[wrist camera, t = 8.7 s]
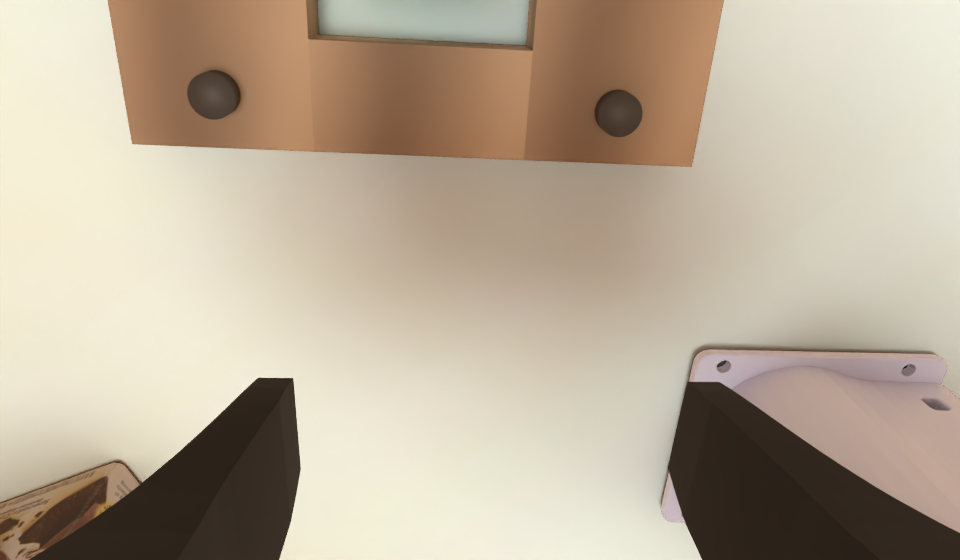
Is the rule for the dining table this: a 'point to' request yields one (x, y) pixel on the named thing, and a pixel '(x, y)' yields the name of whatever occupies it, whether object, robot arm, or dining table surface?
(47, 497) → the coffee box
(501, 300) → the dining table surface
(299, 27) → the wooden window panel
